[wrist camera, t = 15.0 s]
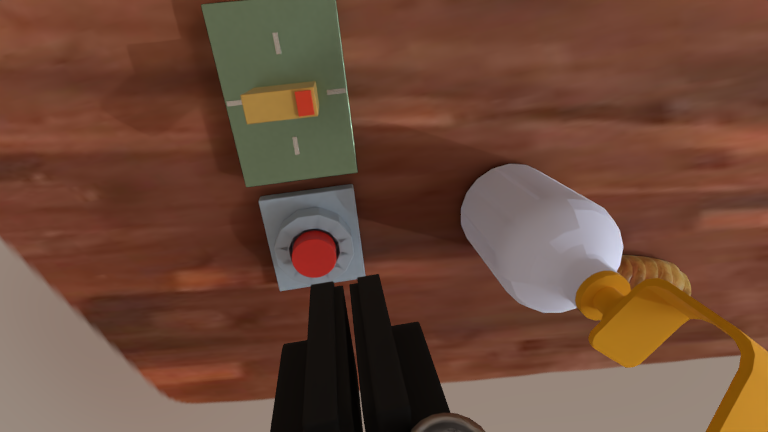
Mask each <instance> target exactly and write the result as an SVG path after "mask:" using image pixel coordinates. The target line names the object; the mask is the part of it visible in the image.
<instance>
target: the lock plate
mask: <svg viewBox="0 0 768 432" xmlns="http://www.w3.org/2000/svg"><path fill="white" fill-rule="evenodd" d="M201 8H202V12H203V16H204V20H205V24H206V28H207V32H208V36H209V40H210V44H211V48H212V52H213V56H214V60H215V64H216V68H217V72H218V76H219V80H220V84H221V88H222V92H223V96H224V100H225V104H226V108H227V112H228V116H229V121H230V125H231V129H232V133H233V137H234V141H235V145H236V149H237V153H238V157H239V161H240V165H241V169H242V173H243V177H244V181H245V185H246V187H253V186H260V185H268V184H276V183H283V182H291V181H298V180H306V179H313V178H321V177H328V176H336V175H343V174H351V173H357V172H358V169H357V161H356V153H355V145H354V138H353V130H352V122H351V114H350V106H349V98H348V90H347V83H346V75H345V67H344V59H343V51H342V43H341V36H340V28H339V20H338V12H337V4H336V0H241V1H230V2H219V3H208V4H201ZM312 81H315V82H316V87H317V94H318V100H319V112H318V116H315V117H306V118H298V119H289V120H281V121H272V122H264V123H255V124H247V123H246V118H245V114H244V110H243V105H242V101H241V97H240V95H242V94H244V93H245V92H247V91H249V90H251V89H253V88H257V87H266V86H275V85H284V84H293V83H302V82H312Z"/></svg>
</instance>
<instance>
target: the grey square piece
mask: <svg viewBox="0 0 768 432" xmlns="http://www.w3.org/2000/svg"><path fill="white" fill-rule="evenodd" d="M258 202H259V206H260V210H261V214H262V219H263V223H264V227H265V231H266V235H267V239H268V244H269V248H270V252H271V256H272V260H273V265H274V269H275V273H276V277H277V281H278V286H279V290H280V291H284V290H290V289H297V288H303V287H310V286H311V285H312V284H318V283H324V282H331V281H333V282H334V283H335V282H342V281H348V280H354V279H357V277H363V276H365V269H364V262H363V254H362V247H361V239H360V232H359V224H358V217H357V209H356V202H355V194H354V188H353V184H348V185H340V186H333V187H326V188H318V189H311V190H303V191H296V192H289V193H281V194H274V195H266V196H261V197H260V199H259V201H258ZM312 230H317V231H322V232H324V233H326V234H328V235H329V236H330V237H331V238H332V239H333V240H334V242H335V245H336V257H337V258H336V264H335V266H334V268H333V269H332V270H331V271H330V272H329V273H328V274H326V275H324V276H322V277H318V278H310V277H306V276H303V275H302V274H300V273H299V272H298V271H297V270H296V269H295V268H294V266H293V264H292V252H293V246H294V243H295V241H296V239H297V238H298V237H299V236H300V235H301V234H303V233H305V232H307V231H312Z"/></svg>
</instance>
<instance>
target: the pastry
mask: <svg viewBox="0 0 768 432" xmlns="http://www.w3.org/2000/svg"><path fill="white" fill-rule="evenodd" d="M617 272H618V273H619V274H620V275H622V276H623V277H624V278H625V279H626V280H627V281H628V283H629V284H630V288H631V290H632V289H633V288H634V287H635V286H636V285H638V284H639V283H641V282H642V281H644V280H646V279H652V278H660V279H663V280H666V281H669V282H670V283H672V284H673V285H674V286H676V287H677V288H679V289H680V290H682V291H683V292H685V293H686V294H688V295H689V296H690V295H691V286H690V282H689V280H688V278H687V276H686V275H685V274H684V273H682V272H681V271H680V270H679V268H678V267H677V266H676V265H675V264H673V263H670V262H667V261H663V260H660V259H655V258H650V257H644V256H633V255H622V258H621V263H620V266H619V268H618V270H617Z"/></svg>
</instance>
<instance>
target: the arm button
mask: <svg viewBox="0 0 768 432" xmlns="http://www.w3.org/2000/svg"><path fill="white" fill-rule="evenodd" d="M336 258H337V257H336V245H335V242H334V240H333V239H332V238H331V237H330V236H329V235H328V234H326V233H324V232H322V231H317V230H312V231H307V232H305V233H303V234H301V235H300V236H299V237H298V238H297V239H296V241H295V243H294V246H293V252H292V264H293V266H294V268H295V269H296V270H297V271H298V272H299V273H300V274H302V275H303V276H306V277H310V278H318V277H322V276H324V275H326V274H328V273H329V272H330V271H331V270H332V269H333V268H334V266H335V264H336Z"/></svg>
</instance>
